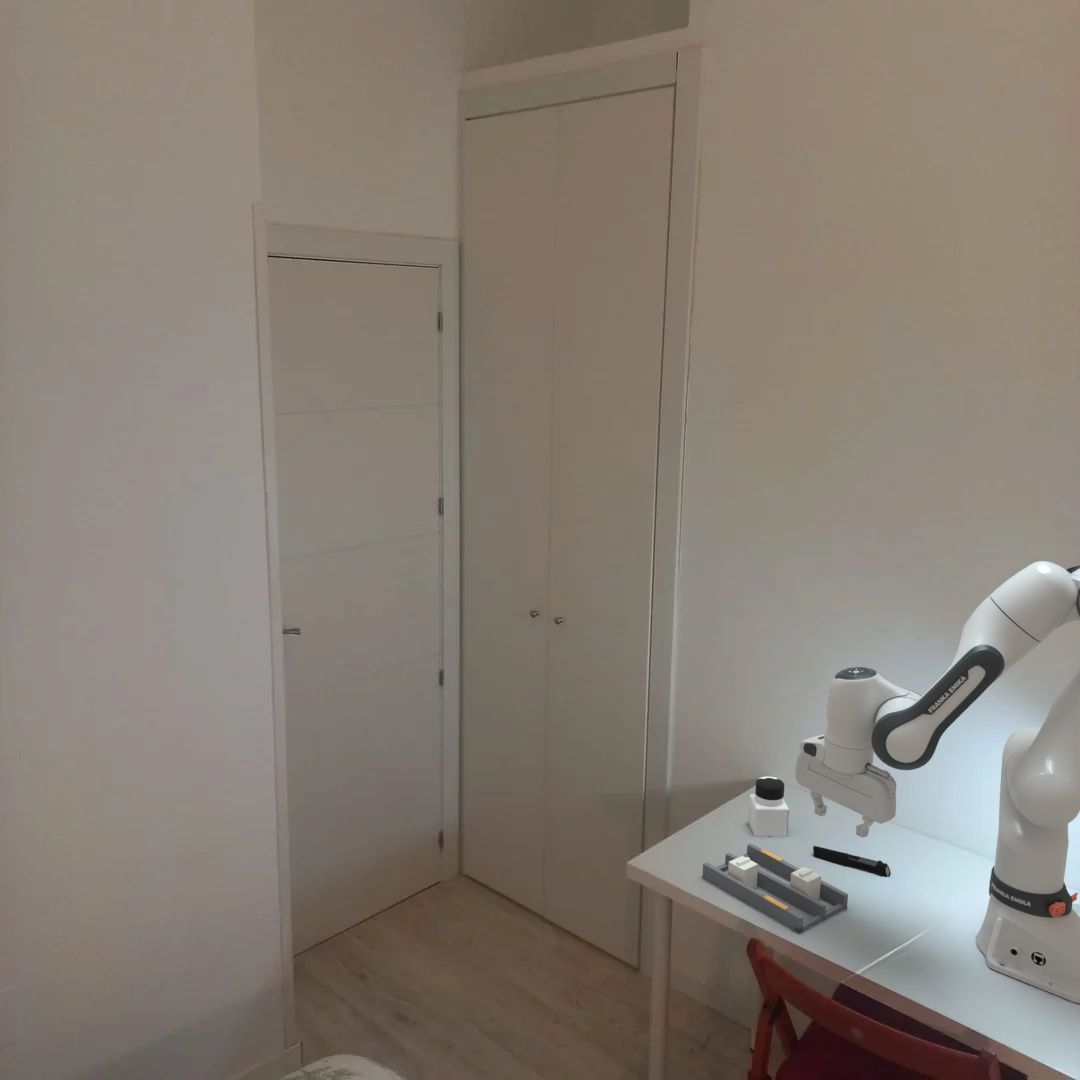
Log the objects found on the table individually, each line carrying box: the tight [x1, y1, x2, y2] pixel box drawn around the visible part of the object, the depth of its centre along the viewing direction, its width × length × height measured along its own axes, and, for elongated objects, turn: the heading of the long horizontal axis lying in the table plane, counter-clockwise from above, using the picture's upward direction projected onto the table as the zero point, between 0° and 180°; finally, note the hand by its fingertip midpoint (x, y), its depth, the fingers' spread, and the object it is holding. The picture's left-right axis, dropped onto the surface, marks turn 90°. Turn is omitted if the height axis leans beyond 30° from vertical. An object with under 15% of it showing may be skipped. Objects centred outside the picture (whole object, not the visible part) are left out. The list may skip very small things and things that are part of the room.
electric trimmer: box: [812, 845, 892, 878], centre depth 210 cm, size 4×16×3 cm, turn 60°
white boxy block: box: [727, 855, 759, 890], centre depth 201 cm, size 4×4×6 cm
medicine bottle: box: [747, 776, 790, 838], centre depth 224 cm, size 7×7×12 cm
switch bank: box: [702, 843, 849, 934], centre depth 199 cm, size 24×14×4 cm, turn 37°
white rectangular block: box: [789, 866, 822, 901], centre depth 197 cm, size 4×4×6 cm
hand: (840, 824), depth 189 cm, fingers open, 8 cm apart
